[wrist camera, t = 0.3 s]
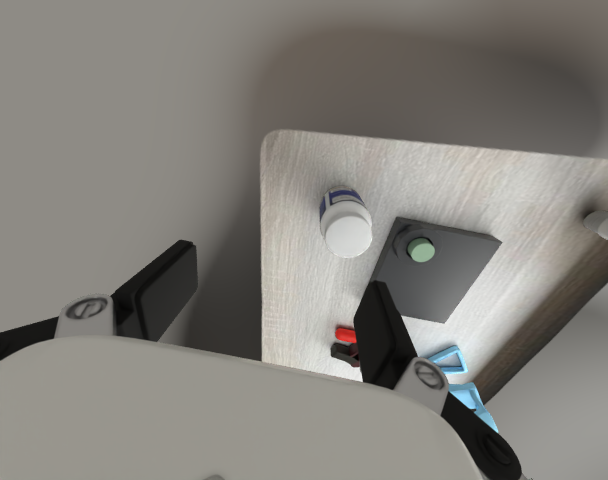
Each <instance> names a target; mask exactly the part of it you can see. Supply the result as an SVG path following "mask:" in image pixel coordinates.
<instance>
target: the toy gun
mask: <svg viewBox="0 0 608 480" xmlns="http://www.w3.org/2000/svg"><path fill="white" fill-rule="evenodd" d="M335 336H336V338H337V339H338V340H342V341H347V342H352V343H354V344H353V345H351V346H350V347H349V348H348V347H345V346H342V345H340V344H336V345H334V346H333V347H331V356H332V357H334V358H337V359H340V360H343V361H345V362H347V363H349V364H351V366H352V367H359V366H360V360H359V354H358V348H357V342H356V335H355V331H352V330H347V329H343V328H338V329H337V330H336V332H335ZM360 371H361V366H360ZM361 373H362V372H361Z"/></svg>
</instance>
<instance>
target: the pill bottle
mask: <svg viewBox="0 0 608 480" xmlns="http://www.w3.org/2000/svg"><path fill="white" fill-rule="evenodd" d="M371 227H372V220H371V216H370V214H369V212H368V210H367V208H366V207H365V205H364V203H363V201H362V200H361V198H360V196H359V195H358V193H357V192H356V191H355V190H353V189H351V188H349V187H346V186H338V187H334V188H332V189H330V190H329V191H327V192H326V193H325V195H324V196H323V197H322V199H321V202H320V230H321V234H322V236H323V238H324V239H325V242H326V245H327V247H328V249H329V250H330V251H331V252H332V253H333V254H335V255H337V256H339V257H343V258H351V257H355V256H358V255H360V254H362V253H363V252H365V251H366V250H367V248H368V247H369V246H370V244H371V241H372V230H371Z"/></svg>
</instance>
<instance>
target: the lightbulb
mask: <svg viewBox="0 0 608 480" xmlns="http://www.w3.org/2000/svg"><path fill="white" fill-rule="evenodd" d="M583 224H584V226H585V227H586V228H588V229H590V230H592V231H594V232H596V233H598V234H599V235H600V236H601V237H603V238H605V239H607V240H608V211H596V212H593V213H591V214H589V215H588V216H587V217H586V218H585V219H584V222H583Z"/></svg>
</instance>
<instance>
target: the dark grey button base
mask: <svg viewBox="0 0 608 480" xmlns="http://www.w3.org/2000/svg"><path fill="white" fill-rule="evenodd" d="M417 238H424V239H427V240H428V241H429V242H430V243H431V245H432V246H433V247H434V249H435V253H434V255H433V257H432V258H431V259H429V260H428V261H425V262H417V261H415V260H413V258H412V257H411V255H410V254H409V252H408V249H407V248H408V245H409V243H410V242H411V241H412V240H414V239H417ZM501 244H502V242H501V241H500V240H498V239H497V238H495V237H493V236H490V235H485V234H480V233H475V232H470V231H465V230H460V229H455V228H450V227H445V226H440V225H435V224H430V223H425V222H420V221H415V220H410V219H405V218H400V217H396V219H395V222H394V224H393V226H392V229H391V231H390V234H389V236H388V238H387V241H386V243H385V246H384V248H383V250H382V253H381V255H380V258H379V260H378V262H377V265H376V267H375V270H374V272H373V274H372V277H371V279H370V282H373V280H378V281H383V282H386V284H387V287H388V289H389V292H390V294H391V296H392V299H393V301H394V304H395V306H396V309H397V310H398V311H399V313H400V315H402V316H407V317H412V318H418V319H423V320H428V321H433V322H439V323H445V322H446V321H447V319H448V318H449V316H450V315H451V314H452V312H453V311H454V309H455V308H456V307H457V305H458V304H459V302H460V301H461V300H462V298H463V297H464V295H465V294H466V293H467V291H468V290H469V288H470V287H471V286H472V284H473V283H474V281H475V280H476V279H477V277H478V276H479V274H480V273H481V272H482V270H483V269H484V267H485V266H486V265H487V263H488V262H489V260H490V259H491V258H492V256H493V255H494V253H495V252H496V251H497V249H498V248H499V246H500V245H501Z"/></svg>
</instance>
